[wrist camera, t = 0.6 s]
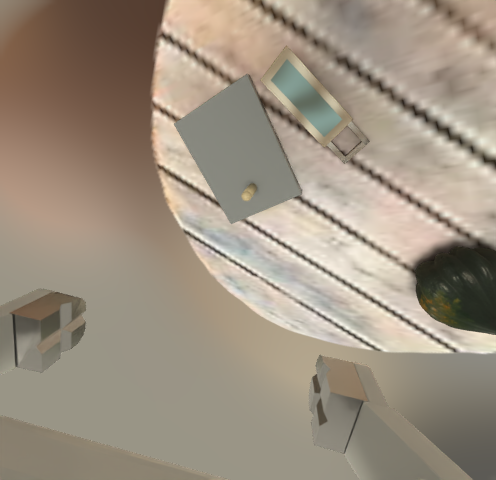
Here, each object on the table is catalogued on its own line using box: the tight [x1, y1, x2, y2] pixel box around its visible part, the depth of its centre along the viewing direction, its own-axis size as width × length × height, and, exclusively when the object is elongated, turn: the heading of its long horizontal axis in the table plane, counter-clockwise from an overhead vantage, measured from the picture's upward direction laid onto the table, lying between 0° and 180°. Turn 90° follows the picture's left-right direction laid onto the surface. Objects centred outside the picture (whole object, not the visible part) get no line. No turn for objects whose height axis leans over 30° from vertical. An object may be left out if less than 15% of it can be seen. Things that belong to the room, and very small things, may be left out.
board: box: [174, 74, 302, 224], centre depth 47 cm, size 16×22×7 cm
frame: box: [260, 45, 370, 164], centre depth 42 cm, size 19×6×5 cm, turn 48°
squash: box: [415, 246, 496, 335], centre depth 46 cm, size 14×15×15 cm
